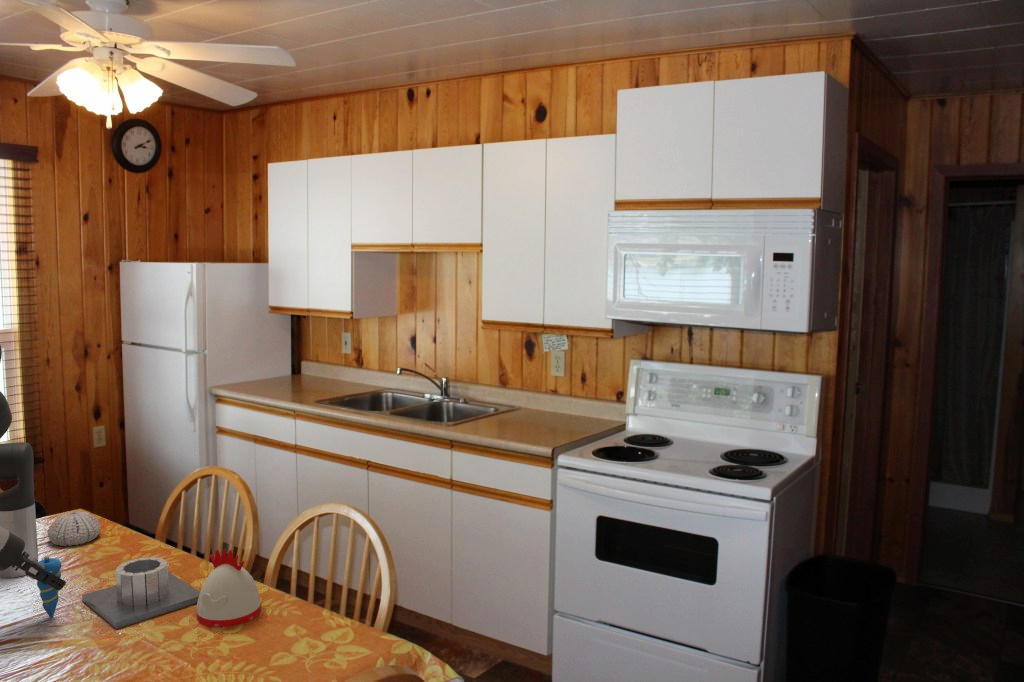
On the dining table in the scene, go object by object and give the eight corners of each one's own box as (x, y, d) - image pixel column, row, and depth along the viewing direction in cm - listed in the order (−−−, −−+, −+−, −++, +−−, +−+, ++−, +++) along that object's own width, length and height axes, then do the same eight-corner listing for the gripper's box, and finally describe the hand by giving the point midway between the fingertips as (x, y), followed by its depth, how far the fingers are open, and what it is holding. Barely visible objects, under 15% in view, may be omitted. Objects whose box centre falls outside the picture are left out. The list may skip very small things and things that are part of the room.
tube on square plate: (82, 601, 192) (80, 566, 191) (166, 576, 206) (165, 543, 205) (116, 629, 178) (114, 592, 177) (204, 600, 193) (203, 566, 192)
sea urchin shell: (111, 532, 237) (110, 506, 236) (82, 550, 223) (81, 521, 222) (67, 531, 238) (66, 504, 237) (36, 548, 225) (35, 520, 224)
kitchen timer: (218, 597, 195) (216, 536, 193) (271, 603, 192) (270, 541, 190) (184, 623, 181) (181, 558, 180) (240, 630, 179) (238, 564, 177)
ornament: (69, 613, 186) (65, 549, 184) (54, 623, 181) (50, 558, 179) (47, 611, 186) (44, 548, 184) (32, 622, 181) (28, 557, 179)
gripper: (17, 538, 171) (82, 577, 181) (-4, 522, 180) (59, 559, 190) (-11, 570, 167) (57, 607, 177) (-30, 551, 177) (35, 587, 187)
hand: (57, 582), depth 184 cm, fingers closed on ornament, 5 cm apart
